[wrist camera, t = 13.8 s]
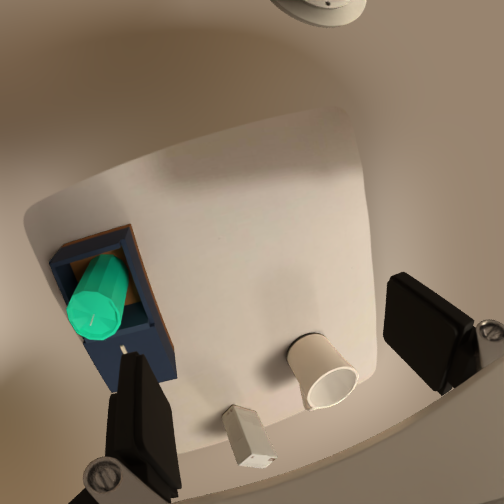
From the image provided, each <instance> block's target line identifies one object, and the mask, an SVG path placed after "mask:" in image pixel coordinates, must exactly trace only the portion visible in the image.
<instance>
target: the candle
mask: <svg viewBox="0 0 504 504" xmlns="http://www.w3.org/2000/svg"><path fill="white" fill-rule="evenodd" d="M128 283H129V270H128V269H127V267H126V266H125V264H124V262H123V261H122V260H121V259H119V258H117V257H116V256H114V255H110V254H100V255H99V256H97V257H95V258H93V259H92V260H91V261H90V263H89V265H88V267H87V269H86V270H85V272H84V274H83V276H82V278H81V280H80V282H79V284H78V285H77V287H76V289H75V291H74V293H73V295H72V297H71V300H70V302H69V304H68V306H67V308H66V310H67V314H68V319H69V321H70V323H71V325H72V326H73V328H74V330H75V331H76V333H77V334H79V335H81V336H83V337H85V338H87V339H89V340H104V339H106V338H108V337H110V336H112V335H114V334H115V333H116V331H117V330H118V328H119V326H120V325H121V320H122V314H123V309H124V303H125V298H126V293H127V288H128Z"/></svg>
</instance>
